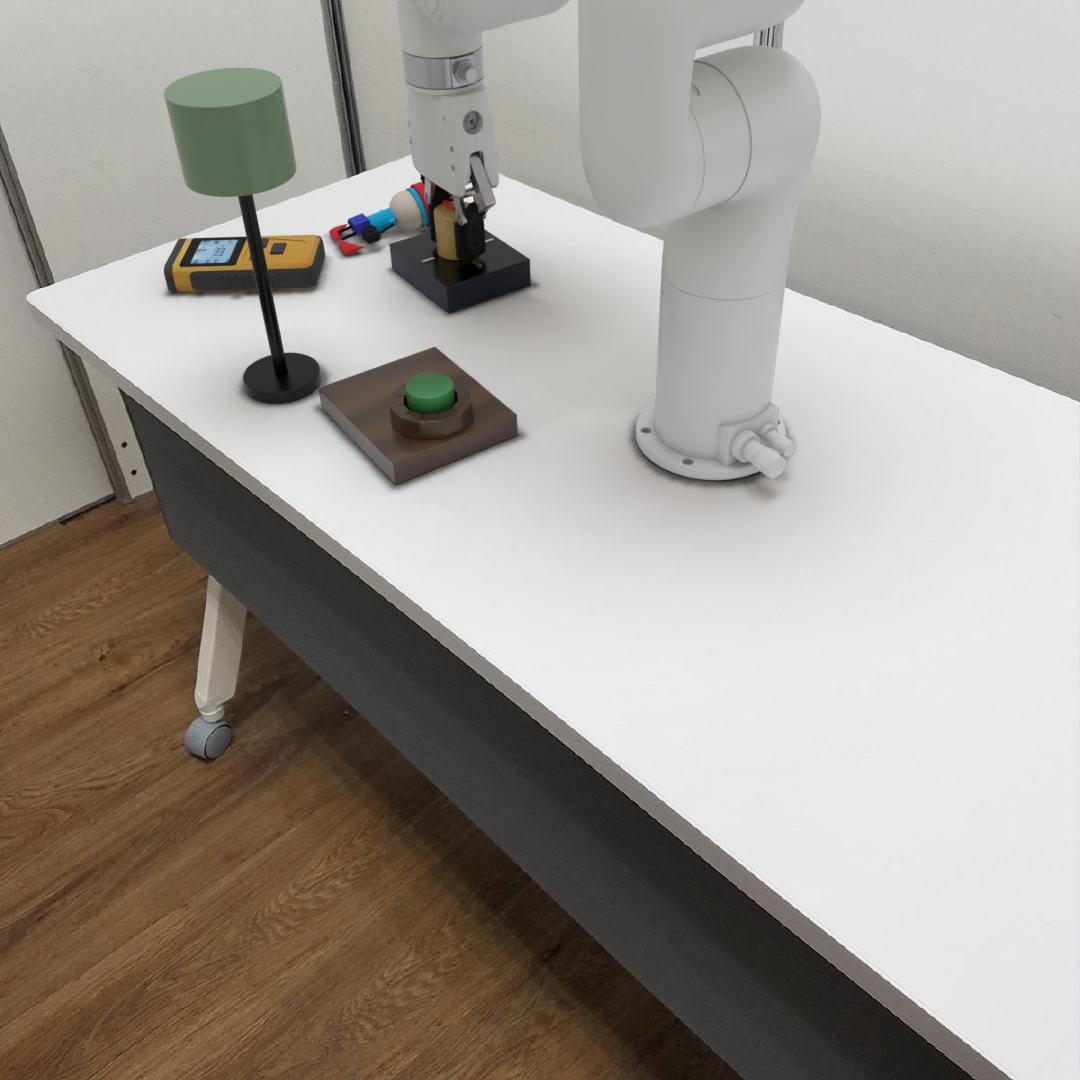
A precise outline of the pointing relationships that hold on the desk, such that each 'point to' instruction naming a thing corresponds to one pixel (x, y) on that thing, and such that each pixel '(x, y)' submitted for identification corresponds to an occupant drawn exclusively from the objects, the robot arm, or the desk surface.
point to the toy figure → (386, 218)
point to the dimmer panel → (460, 271)
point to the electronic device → (243, 263)
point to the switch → (430, 393)
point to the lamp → (243, 188)
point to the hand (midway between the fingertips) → (458, 245)
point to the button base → (416, 416)
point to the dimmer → (446, 229)
